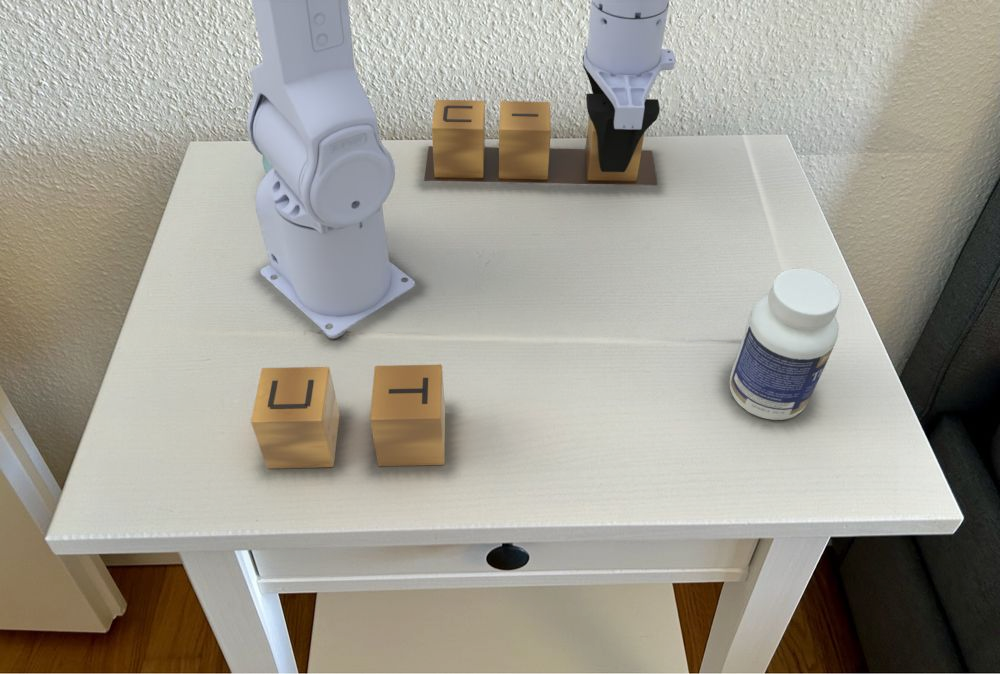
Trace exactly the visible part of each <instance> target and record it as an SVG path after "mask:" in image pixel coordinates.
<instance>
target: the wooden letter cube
mask: <svg viewBox="0 0 1000 674" xmlns="http://www.w3.org/2000/svg"><path fill="white" fill-rule="evenodd" d="M587 121H588V122H587V130H586V134H587V135H586V140H585V142H586V143H585V149H586V150H585V152H586V165H587V178H588V180H602V181H637V175H638V169H639V163H640V157H641V151H642V150H643V144H644V137H645V133H644V134H643V135H642V137H641V139H640V140H639V142H638V144H637V147H636V149H635V151H634V154H633V156H632V158H631V161H630V163H629V165H628V167H627V169H626V171H625V172H602V171H601V168H600V164H599V155H598V140H597V134H596V130H595V127H594V125H593V123H592V121H591V119H590V117H589V116H588V120H587Z"/></svg>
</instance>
